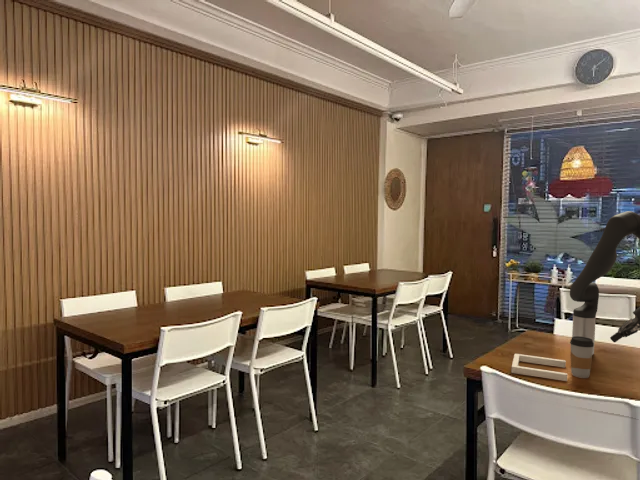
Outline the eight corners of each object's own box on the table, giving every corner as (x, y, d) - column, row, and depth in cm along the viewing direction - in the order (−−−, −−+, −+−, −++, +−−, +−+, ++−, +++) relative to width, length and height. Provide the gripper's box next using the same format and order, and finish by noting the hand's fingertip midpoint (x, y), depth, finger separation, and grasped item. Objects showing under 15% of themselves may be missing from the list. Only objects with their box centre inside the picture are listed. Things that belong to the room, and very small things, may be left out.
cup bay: (514, 359, 205) (514, 353, 205) (565, 366, 196) (565, 360, 196) (511, 372, 187) (511, 366, 187) (567, 381, 178) (567, 374, 178)
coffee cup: (595, 380, 180) (597, 342, 179) (572, 378, 182) (574, 340, 181) (587, 372, 188) (589, 336, 188) (565, 371, 190) (567, 335, 189)
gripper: (639, 302, 181) (602, 329, 187) (646, 307, 170) (606, 336, 175) (655, 317, 179) (617, 344, 185) (663, 323, 167) (622, 352, 173)
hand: (612, 340), depth 180 cm, fingers closed
